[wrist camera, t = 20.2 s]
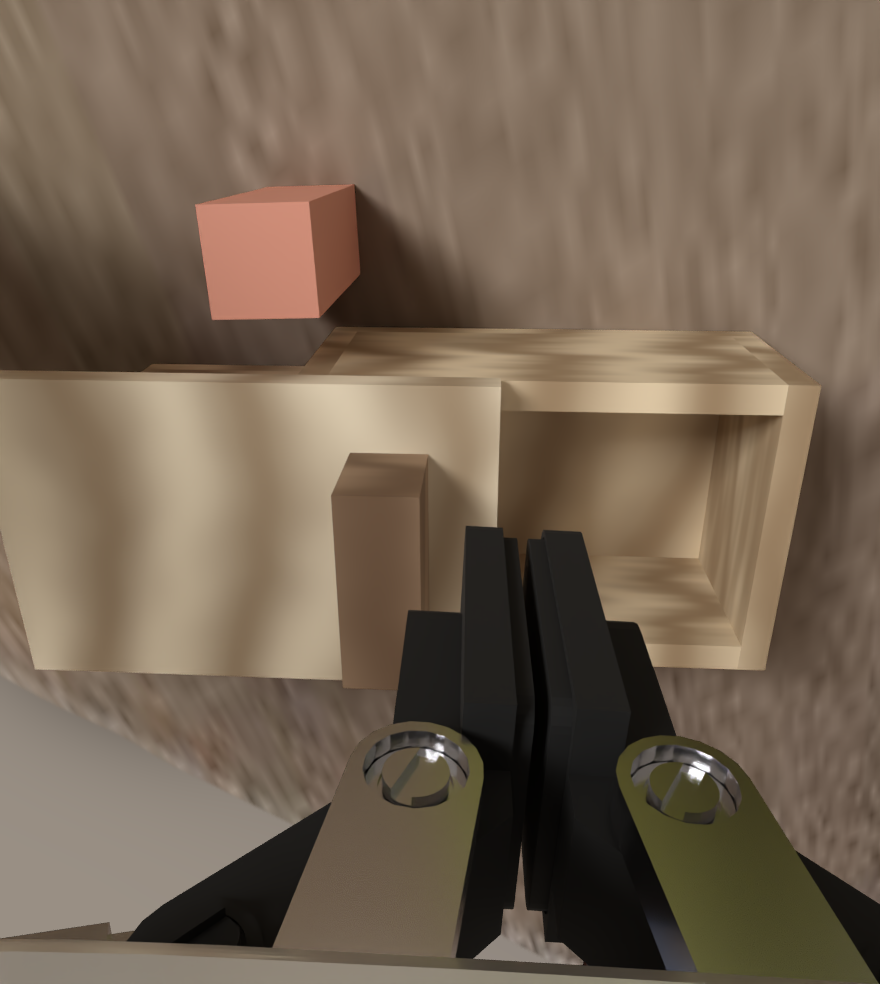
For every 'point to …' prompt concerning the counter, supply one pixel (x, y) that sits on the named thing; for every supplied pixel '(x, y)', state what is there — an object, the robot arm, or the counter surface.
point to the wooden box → (631, 463)
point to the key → (279, 251)
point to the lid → (240, 517)
